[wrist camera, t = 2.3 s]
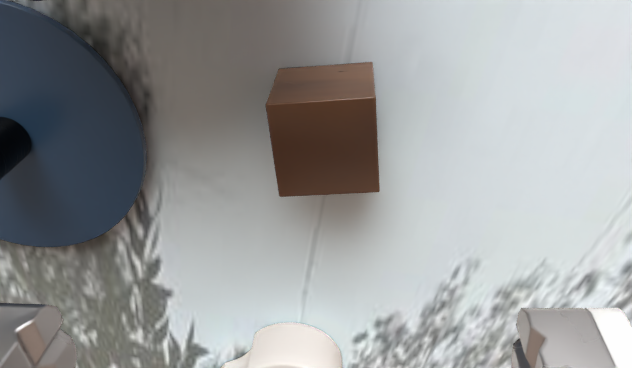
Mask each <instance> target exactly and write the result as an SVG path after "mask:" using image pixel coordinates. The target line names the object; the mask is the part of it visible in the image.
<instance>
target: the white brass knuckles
mask: <svg viewBox="0 0 632 368" xmlns="http://www.w3.org/2000/svg"><path fill="white" fill-rule="evenodd" d="M221 368H342V357H341V353H340V350H339V348H338V346H337V345H336V343H335V342H334V341H333V340H332V339H331V338H330V337H329V336H328V335H327V334H326V333H324V332H322V331H321V330H319V329H317V328H315V327H312V326H309V325H306V324H301V323H292V322H285V323H277V324H272V325H269V326H267V327H264V328H262V329H260V330H259V331H257V332H256V333H255V336H254V340H253V345H252V348H251V349H250V350H249V352H248V353H246V354H245V355H244V356H242V357H240V358H238V359H236V360H233V361H229V362H226V363H225V364H224V365H223V366H222V367H221Z"/></svg>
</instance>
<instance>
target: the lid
mask: <svg viewBox="0 0 632 368" xmlns="http://www.w3.org/2000/svg"><path fill="white" fill-rule="evenodd" d="M146 161H147V154H146V141H145V137H144V132H143V127H142V124H141V121H140V118H139V115H138V112H137V110H136V107H135V105H134V103H133V101H132V99H131V97H130V95H129V93H128V92H127V90H126V88H125V87H124V85H123V84H122V82H121V81H120V79H119V78H118V76H117V75H116V74H115V72H114V71H113V70H112V69H111V67H110V66H109V65H108V64H107V63H106V61H105V60H104V59H103V58H102V57H101V56H100V55H99V54H98V53H97V52H96V51H95V50H94V49H93V48H92V47H91V46H90V45H89V44H87V43H86V42H85V41H84V40H82V39H81V38H80V37H79V36H77V35H76V34H75V33H74V32H72V31H71V30H69V29H68V28H66V27H65V26H63V25H62V24H60V23H59V22H57V21H56V20H54V19H52V18H50V17H48V16H46V15H44V14H42V13H40V12H38V11H36V10H34V9H31V8H28V7H26V6H23V5H20V4H18V3H15V2H11V1H7V0H0V239H1V240H4V241H8V242H12V243H17V244H21V245H28V246H36V247H60V246H69V245H74V244H78V243H83V242H85V241H88V240H91V239H93V238H96V237H98V236H100V235H102V234H103V233H105V232H107V231H109V230H110V229H111V228H112V227H114V226H115V225H116V224H118V223H119V222H120V221H121V220H122V218H123V217H124V216H125V215H126V214H127V213H128V211H129V210H130V208H131V207H132V205H133V204H134V202H135V201H136V199H137V197H138V195H139V193H140V190H141V188H142V185H143V181H144V177H145V173H146Z"/></svg>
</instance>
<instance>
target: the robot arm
mask: <svg viewBox="0 0 632 368" xmlns="http://www.w3.org/2000/svg"><path fill="white" fill-rule="evenodd" d="M63 321H64V319H63V317H62V315H61V313H60V311H59V309H58V307H57V306H52V305H42V304H13V303H0V368H75V367H76V362H77V352H76V346H75V343H74V341H73V339H72V337H71V336H70V335H68V334H67V333H66V332H64V331H63V330H62V329H61V328H60V327H61V325H62V323H63ZM516 326H517V330H518V333H519V337H520V339H518V340H517V341H516V342H515V343H514V344H513V349H512V357H511V364H512V368H632V326H631V324H630V322H629V320H628V318H627V316H626V315H625V313H624V312H623V311H622V310H620V309H619V308H585V309H583V308H521V309H520V311H519V313H518V318H517V323H516Z"/></svg>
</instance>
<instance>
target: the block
mask: <svg viewBox="0 0 632 368" xmlns="http://www.w3.org/2000/svg"><path fill="white" fill-rule="evenodd" d="M266 112H267V118H268V125H269V132H270V138H271V145H272V151H273V158H274V164H275V171H276V178H277V184H278V191H279V196H280V197H287V196H308V195H328V194H349V193H369V192H379V191H380V189H379V166H378V142H377V118H376V96H375V85H374V74H373V63H372V62H365V63H351V64H337V65H324V66H310V67H296V68H283V69H279V70H278V72H277V75H276V78H275V80H274V83H273V86H272V89H271V91H270V94H269V97H268V99H267V102H266Z"/></svg>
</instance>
